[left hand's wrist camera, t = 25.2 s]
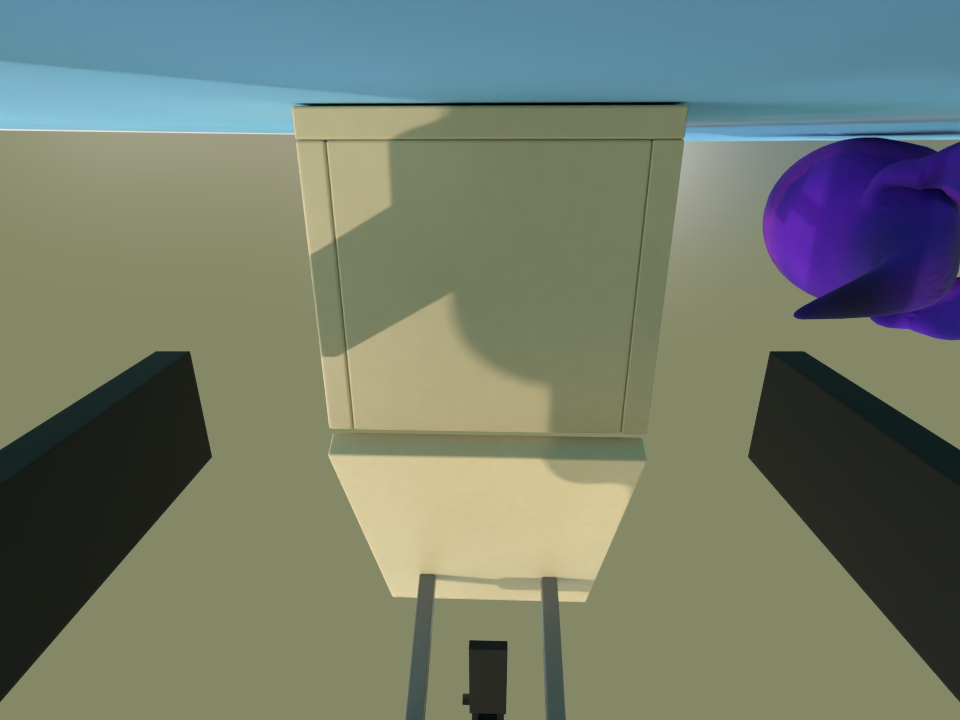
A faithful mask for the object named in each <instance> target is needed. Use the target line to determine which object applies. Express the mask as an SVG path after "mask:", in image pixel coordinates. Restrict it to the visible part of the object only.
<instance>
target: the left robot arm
mask: <svg viewBox="0 0 960 720" xmlns="http://www.w3.org/2000/svg"><path fill="white" fill-rule="evenodd" d="M211 457H212V455H211V450H210V445H209V441H208V436H207V431H206V426H205V421H204V416H203V412H202V407H201V402H200V397H199V393H198V388H197V383H196V378H195V374H194V369H193V364H192V359H191V355H190V352H189V351H183V352H182V351H180V352H179V351H159V352H158V351H156V352H154V353H153V354H151V355H150V356H148V357H146V358H145V359H143V360H142V361H140V362H139V363H137V364H135V365H134V366H132V367H131V368H129V369H128V370H126V371H124V372H123V373H121V374H120V375H118V376H116V377H115V378H113V379H112V380H110V381H109V382H107V383H105V384H104V385H102V386H101V387H99V388H98V389H96V390H94V391H93V392H91V393H90V394H88V395H86V396H85V397H83V398H82V399H80V400H78V401H77V402H75V403H74V404H72V405H71V406H69V407H67V408H66V409H64V410H63V411H61V412H60V413H58V414H56V415H55V416H53V417H52V418H50V419H48V420H47V421H45V422H44V423H42V424H41V425H39V426H37V427H36V428H34V429H33V430H31V431H29V432H28V433H26V434H25V435H23V436H22V437H20V438H18V439H17V440H15V441H14V442H12V443H10V444H9V445H7V446H6V447H4V448H2V449H1V450H0V702H1V700H2V699H3V698H4V697H5V696H6V695H7V694H8V692H9V691H10V690H11V689H12V688H13V687H14V685H15V684H16V683H17V682H18V681H19V680H20V678H21V677H22V676H23V675H24V674H25V673H26V672H27V670H28V669H29V668H30V667H31V666H32V665H33V663H34V662H35V661H36V660H37V659H38V658H39V656H40V655H41V654H42V653H43V652H44V651H45V650H46V648H47V647H48V646H49V645H50V644H51V643H52V641H53V640H54V639H55V638H56V637H57V636H58V634H59V633H60V632H61V631H62V630H63V629H64V628H65V626H66V625H67V624H68V623H69V622H70V621H71V619H72V618H73V617H74V616H75V615H76V614H77V612H78V611H79V610H80V609H81V608H82V607H83V606H84V604H85V603H86V602H87V601H88V600H89V599H90V597H91V596H92V595H93V594H94V593H95V592H96V591H97V589H98V588H99V587H100V586H101V585H102V584H103V582H104V581H105V580H106V579H107V578H108V577H109V575H110V574H111V573H112V572H113V571H114V570H115V569H116V567H117V566H118V565H119V564H120V563H121V562H122V560H123V559H124V558H125V557H126V556H127V555H128V553H129V552H130V551H131V550H132V549H133V548H134V547H135V545H136V544H137V543H138V542H139V541H140V540H141V538H142V537H143V536H144V535H145V534H146V533H147V531H148V530H149V529H150V528H151V527H152V526H153V524H154V523H155V522H156V521H157V520H158V519H159V518H160V516H161V515H162V514H163V513H164V512H165V511H166V510H167V508H168V507H169V506H170V505H171V504H172V502H173V501H174V500H175V499H176V498H177V497H178V496H179V494H180V493H181V492H182V491H183V490H184V489H185V488H186V486H187V485H188V484H189V483H190V482H191V481H192V479H193V478H194V477H195V476H196V475H197V474H198V472H199V471H200V470H201V469H202V468H203V467H204V465H205V464H206V463H207V462H208V461H209V460H210V459H211ZM748 457H749V459H750V460H751V461H752V462H753V463H754V464H755V465H756V467H757V468H758V469H759V470H760V471H761V472H762V474H763V475H764V476H765V477H766V478H767V479H768V481H769V482H770V483H771V484H772V485H773V486H774V487H775V489H776V490H777V491H778V492H779V493H780V494H781V496H782V497H783V498H784V499H785V500H786V501H787V503H788V504H789V505H790V506H791V507H792V508H793V510H794V511H795V512H796V513H797V514H798V515H799V516H800V518H801V519H802V520H803V521H804V522H805V523H806V525H807V526H808V527H809V528H810V529H811V530H812V532H813V533H814V534H815V535H816V536H817V537H818V538H819V540H820V541H821V542H822V543H823V544H824V545H825V547H826V548H827V549H828V550H829V551H830V552H831V553H832V555H833V556H834V557H835V558H836V559H837V560H838V562H839V563H840V564H841V565H842V566H843V567H844V569H845V570H846V571H847V572H848V573H849V574H850V575H851V577H852V578H853V579H854V580H855V581H856V582H857V584H858V585H859V586H860V587H861V588H862V589H863V591H864V592H865V593H866V594H867V595H868V596H869V597H870V599H871V600H872V601H873V602H874V603H875V604H876V605H877V607H878V608H879V609H880V610H881V611H882V612H883V614H884V615H885V616H886V617H887V618H888V619H889V621H890V622H891V623H892V624H893V625H894V626H895V628H896V629H897V630H898V631H899V632H900V633H901V634H902V636H903V637H904V638H905V639H906V640H907V641H908V643H909V644H910V645H911V646H912V647H913V648H914V649H915V651H916V652H917V653H918V654H919V655H920V656H921V658H922V659H923V660H924V661H925V662H926V663H927V665H928V666H929V667H930V668H931V669H932V670H933V672H934V673H935V674H936V675H937V676H938V677H939V678H940V680H941V681H942V682H943V683H944V684H945V685H946V687H947V688H948V689H949V690H950V691H951V692H952V694H953V695H954V696H955V697H956V698H957V699H958V700H959V702H960V450H959V449H958V448H956V447H954V446H953V445H951V444H950V443H948V442H946V441H945V440H943V439H942V438H940V437H938V436H937V435H935V434H934V433H932V432H931V431H929V430H927V429H926V428H924V427H923V426H921V425H919V424H918V423H916V422H915V421H913V420H912V419H910V418H908V417H907V416H905V415H904V414H902V413H901V412H899V411H897V410H896V409H894V408H893V407H891V406H889V405H888V404H886V403H885V402H883V401H882V400H880V399H878V398H877V397H875V396H874V395H872V394H870V393H869V392H867V391H866V390H864V389H863V388H861V387H859V386H858V385H856V384H855V383H853V382H851V381H850V380H848V379H847V378H845V377H844V376H842V375H840V374H839V373H837V372H836V371H834V370H833V369H831V368H829V367H828V366H826V365H825V364H823V363H821V362H820V361H818V360H817V359H815V358H813V357H812V356H810V355H809V354H807V353H806V352H801V351H787V352H786V351H776V352H775V351H771V352H770V355H769V359H768V364H767V369H766V374H765V378H764V383H763V388H762V393H761V398H760V402H759V407H758V412H757V416H756V421H755V426H754V431H753V436H752V440H751V445H750V450H749V455H748Z"/></svg>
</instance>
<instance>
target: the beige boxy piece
mask: <svg viewBox="0 0 960 720" xmlns="http://www.w3.org/2000/svg"><path fill="white" fill-rule="evenodd" d="M328 455H329V458H330V460H331V462H332V464H333V467H334V469H335V471H336V473H337V475H338V478H339V480H340V482H341V484H342V486H343V489H344V491H345V493H346V495H347V497H348V500H349V502H350V504H351V506H352V508H353V510H354V513H355V515H356V517H357V519H358V521H359V524H360V526H361V528H362V530H363V533H364V535H365V537H366V539H367V541H368V544H369V546H370V548H371V550H372V552H373V554H374V557H375V559H376V561H377V563H378V565H379V568H380V570H381V572H382V574H383V576H384V579H385V581H386V583H387V585H388V587H389V590H390V592H391V594H392V596H393V597H417V604H416V614H415V624H414V634H413V644H412V654H411V664H410V674H409V684H408V694H407V704H406V713H405V720H425V712H426V699H427V687H428V674H429V661H430V649H431V637H432V624H433V612H434V600H435V598H455V599H493V600H530V601H541V609H542V634H543V659H544V684H545V709H546V720H566V717H565V700H564V684H563V667H562V650H561V633H560V616H559V601H569V602H585V601H586V599H587V597H588V594H589V592H590V590H591V588H592V585H593V583H594V581H595V579H596V576H597V574H598V572H599V569H600V567H601V565H602V562H603V560H604V558H605V556H606V553H607V551H608V549H609V546H610V544H611V542H612V539H613V537H614V535H615V533H616V530H617V528H618V526H619V523H620V521H621V519H622V517H623V514H624V512H625V510H626V507H627V505H628V503H629V501H630V498H631V496H632V494H633V491H634V489H635V487H636V484H637V482H638V480H639V478H640V475H641V473H642V471H643V468H644V466H645V464H646V461H647V458H646V453H645V448H644V442H643V439H642V438H621V437H560V436H499V435H440V434H380V433H334V434H333V437H332V441H331V445H330V449H329V453H328Z"/></svg>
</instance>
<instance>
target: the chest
mask: <svg viewBox="0 0 960 720" xmlns="http://www.w3.org/2000/svg"><path fill="white" fill-rule="evenodd" d="M687 114H688V106H687V105H485V106H294V107H292V115H293V123H294V132H295V137H296V139H298V141H297V143H296V147H297V155H298V164H299V172H300V181H301V189H302V198H303V206H304V215H305V224H306V232H307V241H308V249H309V258H310V267H311V275H312V284H313V292H314V301H315V309H316V318H317V326H318V335H319V344H320V352H321V361H322V369H323V378H324V386H325V395H326V403H327V412H328V420H329V427H330V428H331V429H352V428H353V427H354V428H355V429H376V430H437V431H497V432H558V433H620V432H621V433H622V434H647V429H648V421H649V413H650V405H651V397H652V390H653V382H654V374H655V366H656V358H657V350H658V343H659V335H660V327H661V319H662V311H663V304H664V296H665V288H666V280H667V272H668V265H669V257H670V249H671V241H672V233H673V225H674V217H675V210H676V202H677V194H678V186H679V179H680V171H681V163H682V155H683V147H684V140H682V139H683V138H684V136H685V129H686V121H687Z"/></svg>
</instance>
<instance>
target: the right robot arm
mask: <svg viewBox="0 0 960 720" xmlns="http://www.w3.org/2000/svg"><path fill="white" fill-rule="evenodd" d="M506 687H507V641H475V640H470V641H469V692H470V694H463V705H470V713H472V720H504V714H506Z"/></svg>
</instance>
